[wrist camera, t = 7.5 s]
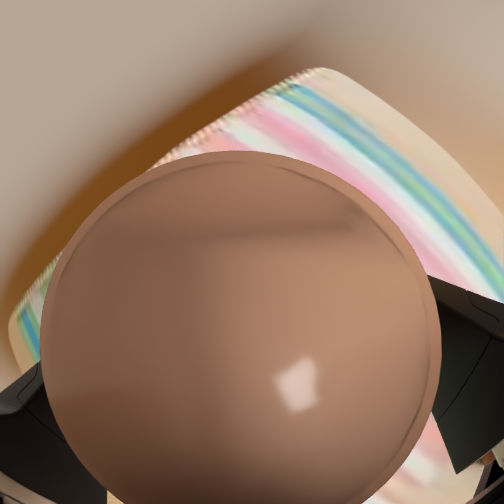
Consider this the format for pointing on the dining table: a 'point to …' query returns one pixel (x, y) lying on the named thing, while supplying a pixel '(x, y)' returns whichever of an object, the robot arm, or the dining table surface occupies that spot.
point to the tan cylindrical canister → (240, 337)
